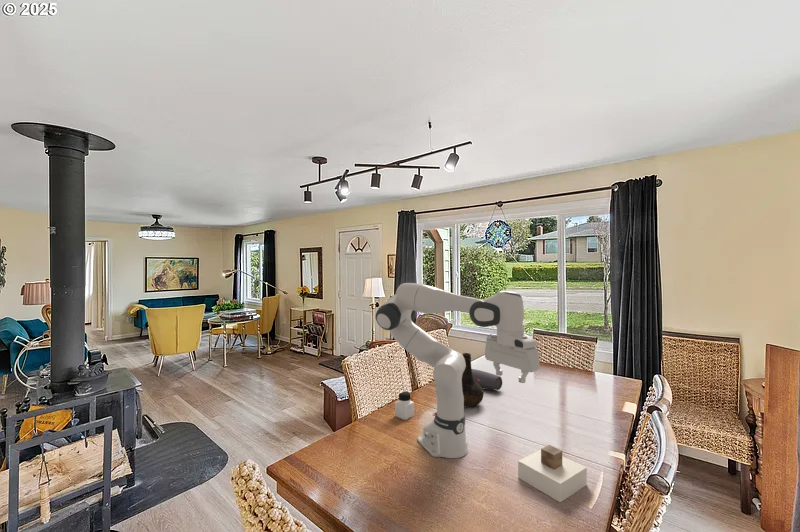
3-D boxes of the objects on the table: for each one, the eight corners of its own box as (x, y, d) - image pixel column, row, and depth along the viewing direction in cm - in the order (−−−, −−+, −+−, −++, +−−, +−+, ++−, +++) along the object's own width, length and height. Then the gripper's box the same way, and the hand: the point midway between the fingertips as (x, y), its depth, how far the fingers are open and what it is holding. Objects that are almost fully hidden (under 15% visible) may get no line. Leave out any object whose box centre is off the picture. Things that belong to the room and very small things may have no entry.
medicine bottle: (414, 415, 176) (414, 392, 176) (405, 420, 171) (405, 396, 171) (404, 411, 181) (404, 388, 181) (394, 416, 176) (394, 392, 176)
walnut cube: (541, 462, 123) (541, 448, 123) (549, 458, 126) (549, 444, 126) (554, 469, 119) (554, 455, 119) (562, 465, 122) (562, 450, 122)
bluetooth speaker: (463, 384, 223) (463, 369, 223) (472, 381, 230) (472, 366, 230) (494, 394, 207) (494, 377, 207) (502, 390, 213) (502, 374, 213)
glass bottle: (478, 398, 200) (478, 349, 200) (487, 411, 182) (487, 357, 182) (448, 398, 199) (448, 349, 200) (453, 411, 182) (453, 357, 182)
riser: (518, 477, 124) (518, 460, 124) (544, 463, 133) (544, 447, 133) (560, 502, 111) (560, 483, 111) (586, 485, 120) (586, 467, 120)
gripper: (480, 334, 126) (480, 372, 126) (530, 344, 109) (530, 389, 109) (492, 332, 129) (492, 369, 129) (542, 342, 112) (542, 385, 112)
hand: (510, 378), depth 119 cm, fingers open, 8 cm apart
